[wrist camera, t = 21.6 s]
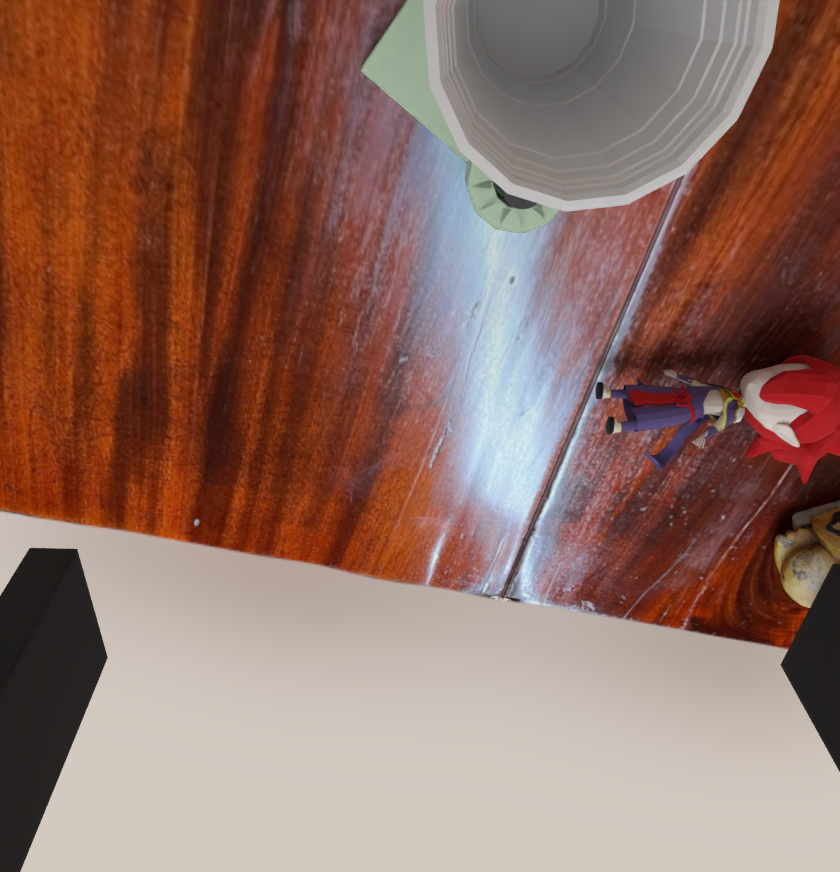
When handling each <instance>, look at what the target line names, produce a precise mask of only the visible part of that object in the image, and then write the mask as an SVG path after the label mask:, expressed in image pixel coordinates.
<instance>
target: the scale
mask: <svg viewBox="0 0 840 872" xmlns="http://www.w3.org/2000/svg"><path fill="white" fill-rule="evenodd" d="M423 3H424V0H406V2H405V3H404V5H403V6H402V8H401V9H400V11H399V12H398V14H397V15H396V17H395V18H394V19H393V21H392V22H391V24H390V25H389V27H388V28H387V30H386V31H385V33H384V34H383V36H382V37H381V39H380V40H379V42H378V43H377V45H376V46H375V47H374V49H373V50H372V52H371V53H370V55H369V56H368V58H367V59H366V61H365V62H364V64H363V65H362V67H361V72H362V73H364V74H365V75H366V76H367V77H368V78H369V79H370V80H372V81H373V82H374V83H375V84H376V85H377V86H379V87H380V88H381V89H382V90H383V91H384V92H386V93H387V94H388V95H389V96H390V97H391V98H392V99H394V100H395V101H396V102H397V103H398V104H399V105H401V106H402V107H403V108H404V109H405V110H406V111H407V112H409V113H410V114H411V115H412V116H413V117H414V118H416V119H417V120H418V121H419V122H420V123H421V124H423V125H424V126H425V127H426V128H427V129H428V130H429V131H431V132H432V133H433V134H434V135H435V136H436V137H438V138H439V139H440V140H441V141H442V142H443V143H445V144H446V145H447V146H448V147H449V148H450V149H451V150H453V151H454V152H455V153H456V154H457V155H458V156H460V157H461V158H462V159H463V160H464V161H465V162H466V163H468V164H467V169H466V175H465V181H466V184H467V188H468V191H469V194H470V197H471V200H472V203H473V206H474V209H475V212H476V213H477V214H478V215H479V216H480V217H482V218H483V219H484V220H485V221H486V222H488V223H489V224H490V225H491V226H492V227H494V228H495V229H498V230H504V231H511V232H518V233H525V232H527V231H530V230H533V229H535V228H538V227H541V226H543V225H546V224H548V223H549V222H550V221H551V220H552V219H553V217H554V216H555V215H556V214H557V213H558V212H559V211H560V210H558V209H555V208H552V207H548V206H545V205H542V204H539V203H538V204H536V205H535V206H533V207H531V208H529V209H516V208H514V207H512V206H510V205H509V204H508V203H507V202H506V200H505V198H504V196H502V195H501V194H500V193H499V192H498V191H497V190H495V188H497V189H498V190H499V191H500V192H501V193H502V191H501V189H500V187H499V186H498V185H497V184H496V183H495V182H494V181H493V180H492V179H490V178H489V177H488V176H487V175H486V174H485V173H484V172H483V171H482V170H480V169H479V168H478V167H477V166H476V165H475V164H474V163H473V162H471V161H470V160H469V159H468V158H467V157H466V156H465V155H464V154H463V153H461V152H460V151H459V148H458V146H457V144H456V142H455V140H454V138H453V136H452V134H451V131H450V129H449V127H448V125H447V123H446V121H445V119H444V116H443V114H442V112H441V110H440V108H439V106H438V104H437V101H436V99H435V97H434V95H433V93H432V91H431V89H430V86H429V76H428V63H427V50H426V37H425V23H424V10H423Z"/></svg>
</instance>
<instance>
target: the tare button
mask: <svg viewBox="0 0 840 872" xmlns="http://www.w3.org/2000/svg"><path fill="white" fill-rule="evenodd" d="M500 189H501V191H502V194H503V196H504V198H505V200H506V202H507V203H508V204H509V205H510V206H512V207H514V208H516V209H529V208H531V207H533V206H535V205H536V204H538V203H536V202H532V201H529V200H526V199H523V198H520V197H516V196H513V195H510V194H507V193H506V192H505V191H504V190H503V189H502V188H500Z"/></svg>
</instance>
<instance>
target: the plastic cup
mask: <svg viewBox="0 0 840 872" xmlns="http://www.w3.org/2000/svg"><path fill="white" fill-rule="evenodd" d="M779 1H780V0H424V3H423V10H424V23H425V37H426V50H427V63H428V76H429V86H430V89H431V91H432V93H433V95H434V97H435V99H436V101H437V104H438V106H439V108H440V110H441V112H442V114H443V116H444V119H445V121H446V123H447V125H448V127H449V129H450V131H451V134H452V136H453V138H454V140H455V142H456V144H457V146H458V148H459V151H460V152H461V153H463V154H464V155H465V156H466V157H467V158H468V159H469V160H470V161H471V162H473V163H474V164H475V165H476V166H477V167H478V168H479V169H480V170H482V171H483V172H484V173H485V174H486V175H487V176H488V177H489V178H490V179H492V180H493V181H494V182H495V183H496V184H497V185H498V186H499V187H500V188H502V189H503V190H504V191H505V192H506V193H507V194H510V195H513V196H516V197H520V198H523V199H526V200H529V201H532V202H536V203H539V204H542V205H545V206H548V207H552V208H555V209H558V210H561V211H564V212H568V211H577V210H586V209H594V208H603V207H612V206H621V205H628V204H630V203H632V202H633V201H635V200H637V199H639V198H641V197H643V196H645V195H647V194H649V193H651V192H652V191H654V190H656V189H658V188H660V187H662V186H664V185H666V184H668V183H670V182H671V181H673V180H675V179H677V178H679V177H681V176H683V175H685V174H687V173H688V172H689V171H690V169H691V168H692V167H693V166H694V165H695V164H696V163H697V162H698V161H699V160H700V159H701V158H702V157H703V156H704V155H705V154H706V153H707V152H708V150H709V149H710V148H711V147H712V146H713V145H714V144H715V143H716V142H717V141H718V140H719V139H720V138H721V137H722V136H723V135H724V134H725V133H726V131H727V130H728V129H729V128H730V127H731V126H732V125H733V124H734V123H735V122H736V121H737V120H738V118H739V116H740V114H741V112H742V110H743V108H744V106H745V103H746V101H747V99H748V97H749V95H750V93H751V91H752V89H753V87H754V85H755V83H756V81H757V79H758V77H759V75H760V73H761V71H762V69H763V67H764V65H765V63H766V60H767V58H768V56H769V54H770V52H771V50H772V48H773V41H774V35H775V28H776V21H777V14H778V8H779Z"/></svg>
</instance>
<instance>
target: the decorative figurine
mask: <svg viewBox="0 0 840 872" xmlns="http://www.w3.org/2000/svg"><path fill="white" fill-rule="evenodd" d="M792 520H793V529H794V531H793V530H788V531H786V532H785V534H784V535H781V534H779V535H778V536H776V538H775V544H774V556H775V561H776V565H777V567H778V570H779V572H780V576H781V582H782V584H783V587H784V589H785V591H786V592H787V593H788V594H789V596H790V597H791V598H792V599H794V600H795V601H796V602H797V603H799V604H800V605H802V606H805V607H808V608H810V607H811V605H812V603H813V601H814V599H815V597H816V595H817V593H818V591H819V590H820V588H821V586H822V584H823V582H824V580H825V578H826V576H827V574H828V572H829V570H830V568H831V566H832V564H840V499H839V500H838V501H835V502H832V503H828V504H824V505H821V506H818V507H814V508H811V509H807V510H804V511H800V512H797V513H795V514H794V515H793V516H792Z"/></svg>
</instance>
